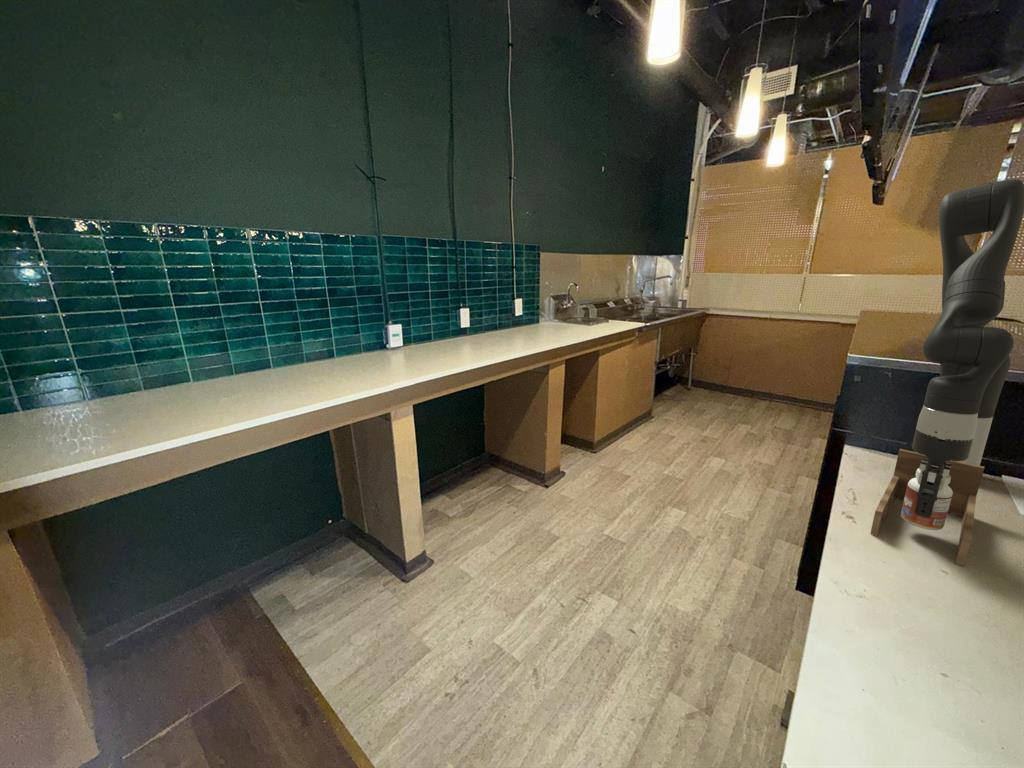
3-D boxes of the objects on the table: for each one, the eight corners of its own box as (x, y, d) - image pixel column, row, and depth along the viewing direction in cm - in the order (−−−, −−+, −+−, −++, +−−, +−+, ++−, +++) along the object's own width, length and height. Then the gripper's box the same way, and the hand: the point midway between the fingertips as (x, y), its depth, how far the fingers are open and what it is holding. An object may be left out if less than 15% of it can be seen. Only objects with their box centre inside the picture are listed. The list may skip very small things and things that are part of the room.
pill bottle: (899, 510, 85) (911, 463, 82) (941, 521, 80) (955, 471, 78) (900, 523, 80) (912, 473, 77) (944, 535, 76) (958, 483, 73)
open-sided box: (889, 494, 96) (899, 448, 93) (970, 516, 86) (984, 466, 83) (870, 533, 82) (881, 481, 79) (963, 566, 72) (980, 508, 69)
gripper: (921, 417, 83) (904, 489, 87) (911, 435, 74) (893, 515, 78) (975, 426, 77) (954, 503, 81) (972, 447, 68) (948, 532, 72)
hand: (924, 508), depth 79 cm, fingers closed on pill bottle, 6 cm apart
